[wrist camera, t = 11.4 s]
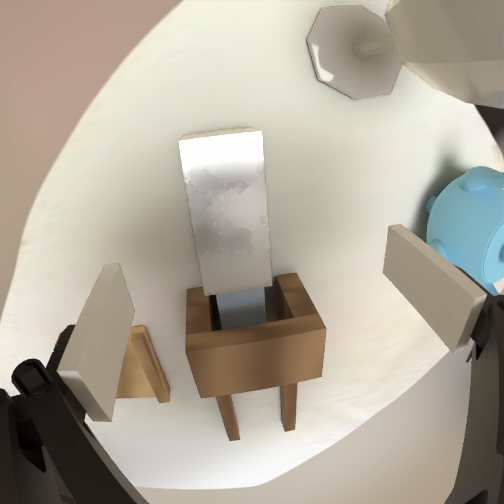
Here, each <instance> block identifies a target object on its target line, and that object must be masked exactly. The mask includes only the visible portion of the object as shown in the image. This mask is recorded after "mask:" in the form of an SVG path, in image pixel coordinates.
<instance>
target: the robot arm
mask: <svg viewBox="0 0 504 504" xmlns="http://www.w3.org/2000/svg"><path fill="white" fill-rule="evenodd" d="M383 273H384V275H385V276H386V277H387V278H388V279H389V280H390V281H391V282H392V283H393V284H394V285H395V287H396V288H397V289H398V290H399V291H400V292H401V293H402V294H403V295H404V297H405V298H406V299H407V300H408V301H409V302H410V303H411V304H412V306H413V307H414V308H415V309H416V310H417V311H418V312H419V314H420V315H421V316H422V317H423V318H424V319H425V321H426V322H427V323H428V324H429V325H430V326H431V328H432V329H433V330H434V331H435V332H436V334H437V335H438V336H439V337H440V338H441V340H442V341H443V342H444V343H445V345H446V346H447V347H448V348H449V350H450V351H451V352H452V353H453V354H454V353H457V352H459V351H461V350H463V349H465V348H466V346H467V344H468V342H469V340H470V337H471V338H472V339H473V340H474V342H475V343H474V345H473V347H472V349H471V351H470V354H469V356H468V358H467V360H466V362H469V360H470V358H472V362H471V363H472V369H471V370H472V371H471V387H470V398H469V408H468V416H467V424H466V431H465V438H464V443H463V449H462V454H461V459H460V464H459V468H458V473H457V477H456V481H455V485H454V488H453V490H452V492H451V494H450V495H449V497H448V498H447V500H446V502H445V504H504V295H495V296H493V295H492V294H491V293H490V292H489V291H488V290H486V289H485V288H484V287H483V286H482V285H481V284H480V283H478V282H477V281H475V279H474V278H472V277H471V276H469V274H468V273H467V272H465V271H464V270H463V269H462V268H460V267H458V266H455V265H453V264H451V263H450V262H449V261H448V260H447V259H445V258H444V257H443V256H442V255H440V254H439V253H438V252H437V251H435V250H434V249H433V248H431V247H430V246H429V245H428V244H426V243H425V242H424V241H422V240H421V239H420V238H418V237H417V236H416V235H414V234H413V233H412V232H410V231H409V230H408V229H406V228H405V227H404V226H402V225H401V224H399V225H391V226H389V227H388V236H387V245H386V253H385V261H384V268H383ZM134 312H135V310H134V307H133V304H132V301H131V298H130V295H129V292H128V289H127V286H126V283H125V280H124V277H123V274H122V270H121V267H120V264H119V263H116V264H109V265H104V267H103V269H102V271H101V273H100V275H99V277H98V279H97V281H96V283H95V285H94V287H93V289H92V291H91V293H90V295H89V297H88V299H87V301H86V304H85V306H84V308H83V310H82V312H81V314H80V316H79V319H78V321H77V323H76V325H68V326H67V328H66V329H65V330H64V331H63V332H62V333H61V335H60V337H59V339H58V341H57V344H56V346H55V348H54V352H52V355H51V357H50V359H49V362H48V364H47V366H46V368H45V367H44V365H43V364H42V363H41V361H40V360H38V359H28V360H25V361H23V362H22V363H20V364H19V365H18V366H17V367H16V368H15V370H14V371H13V374H12V376H11V378H12V383H13V384H14V386H15V387H16V388H17V390H18V391H19V392H20V393H21V394H20V395H16V396H12V397H10V396H9V395H8V393H7V392H6V391H5V390H4V389H1V388H0V504H149V503H148V502H147V501H146V500H145V499H144V498H143V497H142V496H141V494H140V493H139V492H138V491H137V490H136V489H135V488H134V486H133V485H132V484H131V483H130V482H129V480H128V479H127V478H126V477H125V476H124V474H123V473H122V472H121V471H120V469H119V468H118V467H117V466H116V464H115V463H114V462H113V460H112V459H111V458H110V456H109V455H108V454H107V452H106V451H105V450H104V448H103V447H102V446H101V444H100V443H99V441H98V440H97V439H96V437H95V436H94V434H93V433H92V431H91V430H90V428H89V427H88V425H87V424H86V423H85V422H84V419H85V415H86V413H87V414H88V415H89V417H90V418H91V419H92V421H100V422H111V421H112V415H113V409H114V404H115V398H116V393H117V388H118V383H119V378H120V373H121V368H122V363H123V359H124V354H125V350H126V345H127V341H128V337H129V332H130V328H131V324H132V320H133V316H134Z"/></svg>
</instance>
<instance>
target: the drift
mask: <svg viewBox="0 0 504 504" xmlns="http://www.w3.org/2000/svg"><path fill="white" fill-rule="evenodd" d="M216 299H217V305H218V311H219V316H220V322H221V328H222V330H225V329H232V328H239V327H245V326H251V325H257V324H263V323H266V309H265V293H264V287H261V288H255V289H249V290H242V291H236V292H229V293H222V294H216Z"/></svg>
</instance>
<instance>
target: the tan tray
mask: <svg viewBox="0 0 504 504" xmlns="http://www.w3.org/2000/svg"><path fill="white" fill-rule="evenodd" d="M60 335H61V333H60ZM60 335H59V337H60ZM59 337H58V339H59ZM57 341H58V340H57ZM56 344H57V342H56ZM56 344H55V346H56ZM140 397H157V399H158V401H159V403H165V402H169V399H170V388H169V386H168V384H167V381H166V379H165V377H164V374H163V372H162V369H161V367H160V364H159V362H158V360H157V357H156V354H155V352H154V349H153V347H152V344H151V341H150V339H149V336H148V333H147V331H146V328H145V326H137V327H131V328H130V332H129V337H128V341H127V345H126V350H125V354H124V359H123V363H122V368H121V373H120V378H119V383H118V388H117V393H116V398H140Z"/></svg>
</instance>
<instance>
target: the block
mask: <svg viewBox="0 0 504 504" xmlns="http://www.w3.org/2000/svg"><path fill="white" fill-rule="evenodd" d="M179 145H180V153H181V160H182V167H183V174H184V180H185V187H186V193H187V200H188V206H189V212H190V218H191V224H192V230H193V236H194V241H195V247H196V253H197V258H198V263H199V269H200V274H201V279H202V284H203V289H204V294H205V296H209V295H215V294H222V293H229V292H236V291H242V290H249V289H255V288H261V287H268V286H273V285H272V269H271V253H270V238H269V223H268V209H267V195H266V181H265V168H264V155H263V142H262V131H259V130H257V129H254V128H251V127H244V128H235V129H226V130H217V131H209V132H202V133H195V134H188V135H183V137H182V138H181V139H180V141H179Z"/></svg>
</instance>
